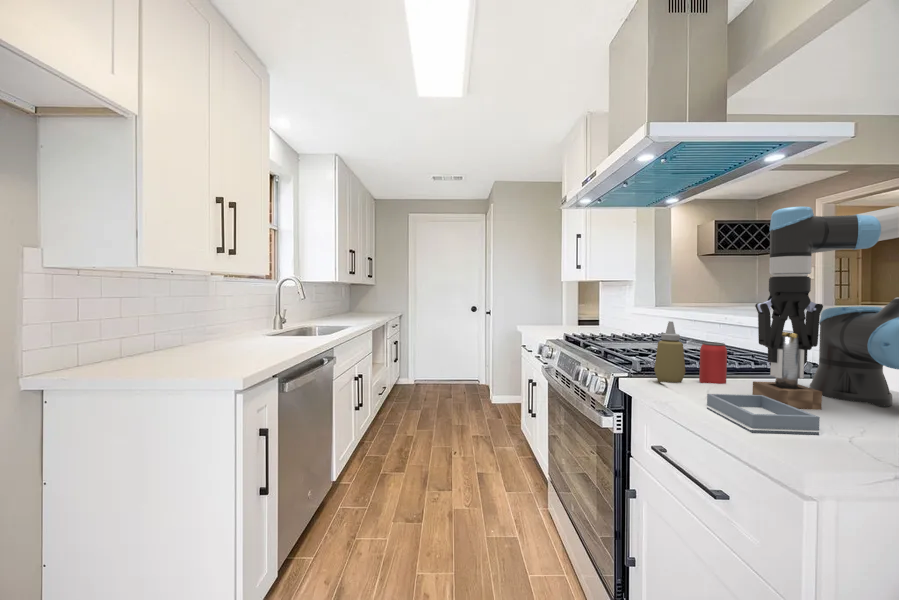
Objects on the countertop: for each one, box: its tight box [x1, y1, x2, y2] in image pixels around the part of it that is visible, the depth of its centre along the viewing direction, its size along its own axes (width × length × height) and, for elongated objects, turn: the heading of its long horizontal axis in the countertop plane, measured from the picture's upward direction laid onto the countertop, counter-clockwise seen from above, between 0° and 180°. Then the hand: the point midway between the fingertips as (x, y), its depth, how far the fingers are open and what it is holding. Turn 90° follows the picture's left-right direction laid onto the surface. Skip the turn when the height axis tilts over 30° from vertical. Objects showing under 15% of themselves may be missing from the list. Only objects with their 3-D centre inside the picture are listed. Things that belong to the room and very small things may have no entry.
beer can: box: [698, 341, 728, 385], centre depth 120 cm, size 7×7×12 cm
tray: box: [706, 393, 821, 436], centre depth 87 cm, size 12×16×4 cm
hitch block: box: [751, 381, 823, 411], centre depth 97 cm, size 9×9×5 cm
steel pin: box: [775, 331, 799, 389], centre depth 97 cm, size 4×6×16 cm
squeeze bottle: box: [653, 321, 686, 384], centre depth 121 cm, size 8×8×18 cm
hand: (786, 376), depth 97 cm, fingers closed on steel pin, 4 cm apart
